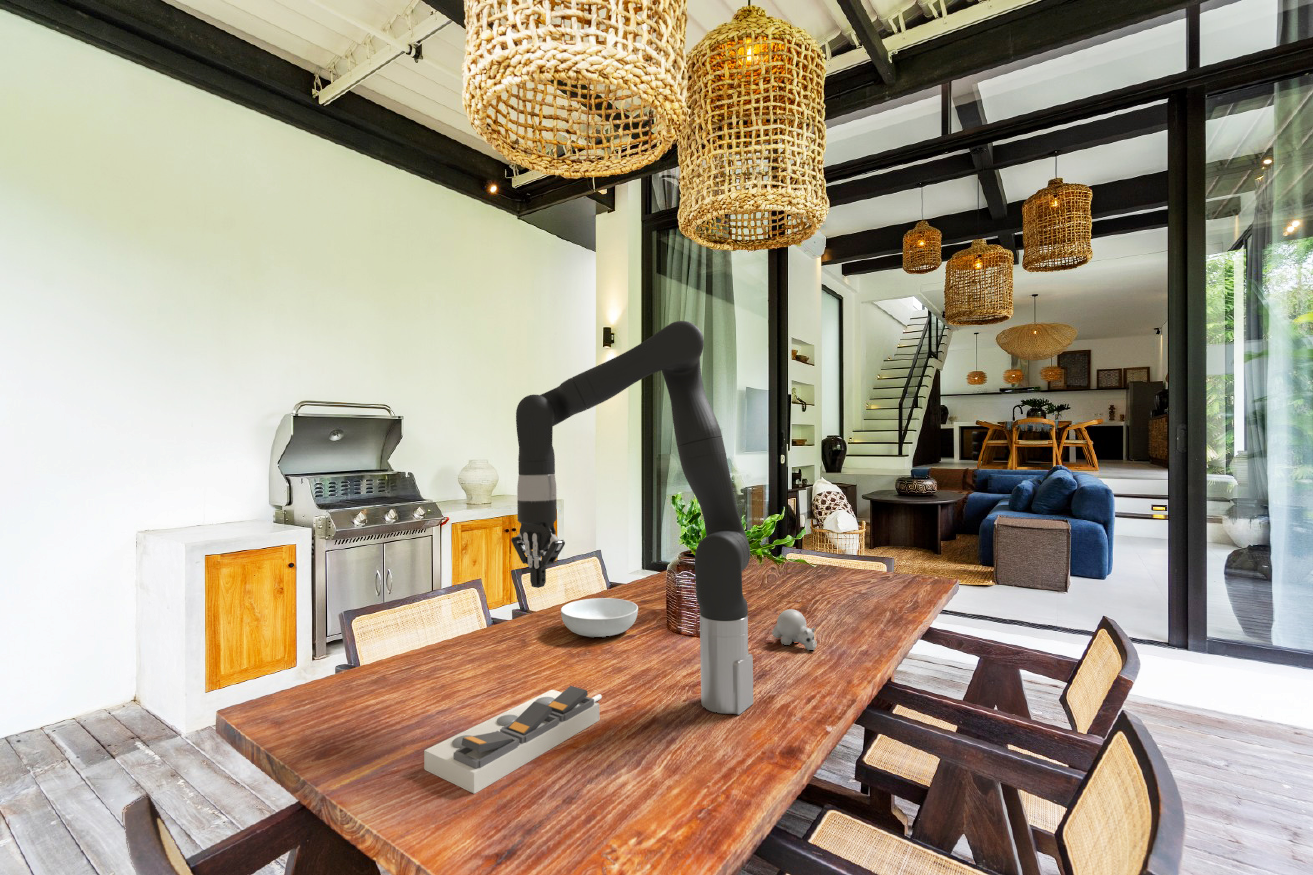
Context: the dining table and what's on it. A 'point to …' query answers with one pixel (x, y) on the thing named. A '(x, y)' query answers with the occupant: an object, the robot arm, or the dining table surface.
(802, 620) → the chubby cartoon animal
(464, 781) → the power strip
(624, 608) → the serving bowl
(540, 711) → the middle rocker
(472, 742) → the rocker far end
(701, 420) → the robot arm
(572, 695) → the rocker near cord
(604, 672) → the dining table surface
